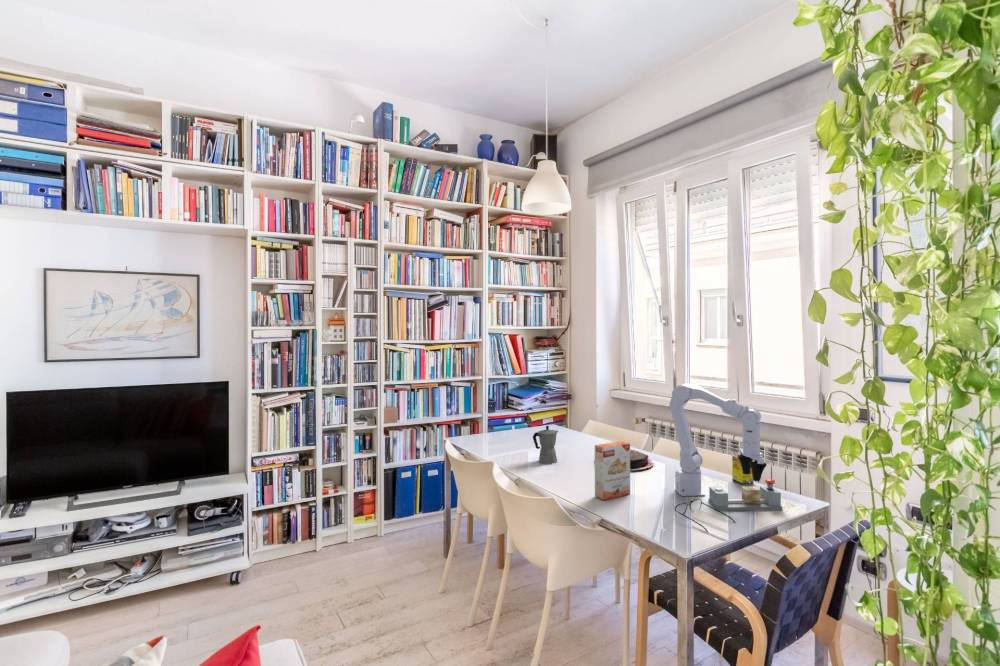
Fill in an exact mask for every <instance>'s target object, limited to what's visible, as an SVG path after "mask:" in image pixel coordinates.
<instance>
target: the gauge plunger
mask: <svg viewBox="0 0 1000 666" xmlns="http://www.w3.org/2000/svg"><path fill="white" fill-rule="evenodd" d="M764 483H766V486H767V490H768V491H773V488H774V485H775V483H776V480H774V479H773V478H765V479H764Z"/></svg>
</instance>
